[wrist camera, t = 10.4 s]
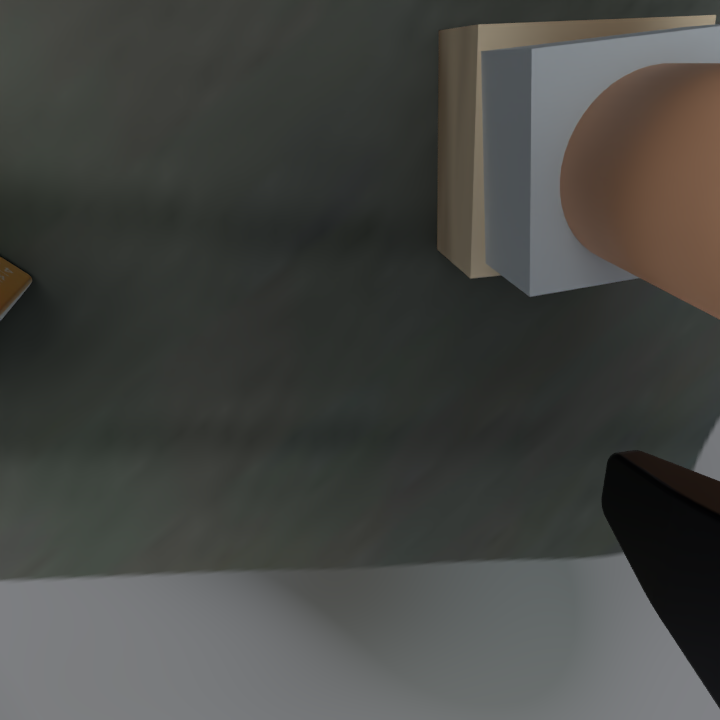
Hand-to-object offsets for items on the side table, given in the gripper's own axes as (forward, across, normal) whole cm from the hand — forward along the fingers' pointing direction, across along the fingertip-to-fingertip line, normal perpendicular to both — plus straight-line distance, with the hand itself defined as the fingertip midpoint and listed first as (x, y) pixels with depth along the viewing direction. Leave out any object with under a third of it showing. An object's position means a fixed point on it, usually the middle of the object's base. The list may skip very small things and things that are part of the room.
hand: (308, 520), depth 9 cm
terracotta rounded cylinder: (+7, -9, -3) cm, 12 cm away
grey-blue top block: (+10, -9, -3) cm, 14 cm away
